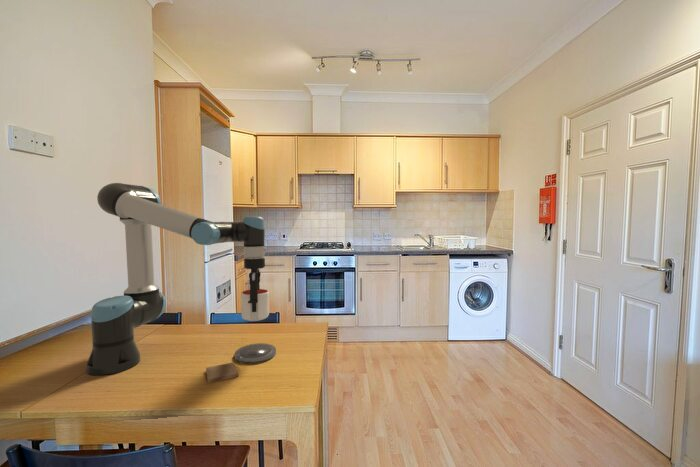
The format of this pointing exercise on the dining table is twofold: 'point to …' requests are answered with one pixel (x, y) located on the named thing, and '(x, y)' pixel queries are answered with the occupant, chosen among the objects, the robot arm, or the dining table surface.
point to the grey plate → (255, 353)
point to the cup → (262, 304)
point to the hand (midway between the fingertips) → (255, 315)
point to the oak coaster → (221, 372)
